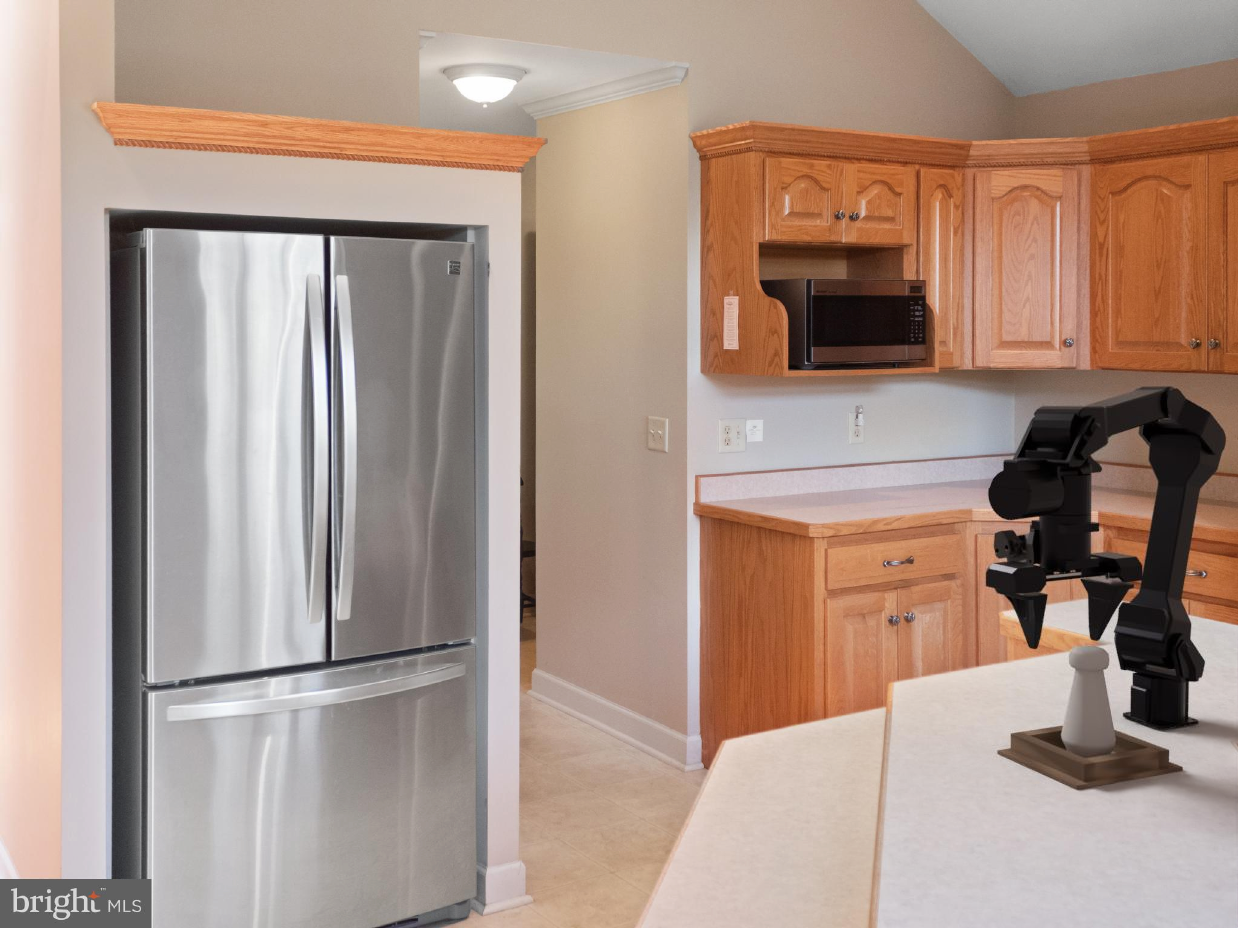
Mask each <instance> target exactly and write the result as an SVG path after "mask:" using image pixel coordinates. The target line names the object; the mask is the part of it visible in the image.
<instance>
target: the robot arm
mask: <svg viewBox="0 0 1238 928" xmlns="http://www.w3.org/2000/svg"><path fill="white" fill-rule="evenodd" d="M1135 428H1138V435H1139V437H1140V438H1141V439H1142V440H1143V441H1144V442H1145V443H1146V445H1147V446H1148V458H1147V459H1148V462H1149V465H1150V468H1151V469H1152V472H1153V474H1154V477H1155V478H1156V481H1157V485H1156V492H1155V498H1154V503H1153V509H1152V515H1151V521H1150V528H1149V531H1148V532H1149V533H1148V539H1147V545H1146V550H1145V556H1144V561H1143V564H1142V562H1141V561H1140V558H1138V557H1137V556H1136V555H1130V554H1123V553H1119V552H1113V551H1112V552H1111V551H1103V552H1092V533H1097V532H1100V522H1097V521H1096V522H1095V521H1092V490H1093V489H1092V486H1093V485H1092V478H1093V477H1092V475H1093V474H1097V473H1102V471H1103V467H1102V466H1101V464H1100V463H1099V462H1097V461H1096V460H1095V459H1094V458H1093V457H1092V455H1094V454H1095V453H1097V452H1099V451H1100V450H1101V449H1103V448H1104V447H1106V446H1107V445H1108V443H1109V440H1110V438H1111V437H1113V436H1114V435H1118V434H1120V433H1121V434H1122V433H1124V432H1126V431H1130V430H1132V429H1135ZM1226 443H1227V437H1226V432H1225V430H1224V428H1223V427H1222V426H1221V425H1220V423H1219V422H1218V420H1217V419H1216V418H1215V417H1214V416H1213V414H1212V413H1211V412H1210V411H1208V410H1207V409H1205V408H1204V407H1202V406H1200V405H1198V404H1197V403H1195V402H1193V401H1191V400H1190V399H1188V398H1186V396H1185V395H1184V393H1182V391H1181V390H1180V389H1179V388H1176V387H1174V386H1169V385H1166V386H1165V385H1164V386H1162V385H1160V386H1159V385H1157V386H1156V385H1155V386H1154V385H1153V386H1151V385H1150V386H1146V385H1145V386H1143V385H1142V386H1141V387H1139V388H1136V389H1134V390H1132V391H1130V392H1126V393H1122V394H1120V395H1117V396H1112V397H1109V398H1106V399H1103V400H1099V401H1096V402H1092V403H1089V404H1086V405H1043V406H1042V405H1041V406H1039V407H1038V408H1037V409H1036V410H1035V411H1034V413H1033V417H1032V418H1031V420H1030V422H1029V423H1028V426H1027V427H1026V431H1025V432H1024V434H1023V437H1022V438H1021V440H1020V443H1019V444H1018V447H1017V449H1016V451H1015V454H1014V455H1013V457H1012V459H1011V458H1009V459H1004V460H1003V463H1002V466H1003V469H1002V470H1001V471H1000V472H997V473H996V475H995V476H994V477H993V478H992V480H991V482H990V485H989V488H988V491H987V492H988V493H987V496H988V502H989V505H990V507H991V508H992V510H993V512H994V513H995V514H996V515H997V516H998V517H1000V518H1002V519H1003V520H1007V521H1016V520H1017V521H1018V520H1023V519H1031V518H1038V519H1033V520H1031V523H1030V524H1029V533H1026V534H1018V535H1017V533H1016V532H1015V530H1013V529H1008V530H1000V531H997V532H994V535H993V536H994V537H993V550H994V555H995V557H996V558H997V559H999V560H1000V559H1006V561H1001V562H991V563H990V564H989V566H988V567H987V568H986V569H985V587H987V588H992V589H994V591H995V593H996V594H999V595H1003V596H1004V597H1005V598H1006V599H1007V600H1008V601H1009V602H1010V605H1011V606H1012V608H1013V611H1014V612H1015V614H1016V616H1017V619H1018V621H1019V624H1020V627H1021V629H1022V632H1023V636H1024V638H1025V640H1026V644H1027V646H1028V648H1029V649H1033V650H1037V649H1038V648H1039V645H1040V640H1041V636H1042V632H1043V627H1044V626H1043V625H1044V620H1045V612H1046V608H1047V602H1048V596H1049V595H1048V593H1044V592H1042V591H1043V590H1044V589H1045V587H1046V586H1047V582H1048V583H1049V582H1050V583H1051V582H1057V581H1058V582H1059V581H1065V580H1077V579H1078V580H1080V582H1081V583H1082V585H1083V588H1084V589H1085V591H1086V594H1087V608H1088V609H1087V613H1088V617H1087V618H1088V634H1089V638H1090V640H1091V641H1094V642H1098V641H1100V639H1101V638H1102V636H1103V634H1104V632H1105V630H1106V628H1108V625H1109V623H1110V621H1111V619H1113V618H1112V617H1113V615H1114V614H1115V612H1116V611H1117V609H1118V611H1117V621H1116V625H1115V627H1114V630H1113V633H1114V637H1113V639H1114V646H1115V651H1116V655H1117V659H1118V664H1119V668H1120V670H1121V671H1129V672H1132V685H1131V686H1130V704H1129V705H1130V707H1129V708H1130V711H1126V712H1122V717H1123V718H1125V719H1128V720H1132V721H1134V722H1136V723H1140V724H1142V725H1146V726H1147V727H1151V728H1154V729H1157V730H1169V729H1174V728H1175V729H1176V728H1180V727H1181V728H1182V727H1188V726H1193V725H1198V724H1199V719H1197V718H1195V717H1192V716H1189V703H1190V702H1189V699H1190V698H1189V696H1190V694H1189V692H1190V689H1189V688H1190V682H1191V683H1195V682H1199V681H1200V679H1202V677H1203V674H1204V672H1205V670H1204V669H1205V665H1206V661H1205V659H1204V657H1203V655H1202V654H1201V653H1200V652H1199V650H1198V648H1197V647H1196V645H1195V644H1194V642H1193V641H1192V638H1191V636H1192V620H1191V619H1190V617H1189V614H1188V612H1187V610H1186V607H1185V606H1184V603H1183V601H1182V599H1183V592H1184V585H1185V581H1186V580H1185V579H1186V574H1187V569H1188V568H1187V567H1188V561H1189V557H1190V550H1191V544H1192V540H1193V532H1194V528H1195V520H1196V516H1197V515H1196V514H1197V509H1198V503H1199V499H1200V498H1199V496H1200V492H1201V489H1202V487H1203V486H1204V485H1205V484H1206V483H1207V482H1208V481H1209V480H1210V478H1212V476H1213V475H1214V474H1216V472H1217V471H1218V469H1219V466H1220V465H1219V464H1220V461H1221V457H1222V454H1223V452H1224V450H1225V448H1226V445H1227V444H1226ZM1134 582H1140V585H1139V590H1138V592H1137V594H1136V595H1135V596H1134V597H1133V598H1132V599H1131V600H1130V601H1129V602H1126V601H1123V599H1124V598H1125V597H1126V595H1127V593H1128V592H1129V591H1130V590H1131V589H1135V583H1134Z"/></svg>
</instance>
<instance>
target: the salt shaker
mask: <svg viewBox="0 0 1238 928" xmlns="http://www.w3.org/2000/svg"><path fill="white" fill-rule="evenodd" d="M1068 664H1069V665H1070V667H1071V668H1073V669H1074V673H1073V674H1074V675H1073V679H1072V683H1071V687H1070V692H1069V695H1068V696H1069V697H1068V702H1067V705H1066V712H1065V715H1064V720H1063V724H1062V725H1063V728H1062V733H1061V738H1062V741H1063V743H1064V745H1065V747H1066V750H1067V751H1069V752H1071V753H1073V754H1076V755H1078V756H1081V757H1083V758H1091V757H1097V756H1103V755H1109V754H1111V752H1112V750H1113V748H1114V746H1115V742H1116V738H1115V732H1114V730H1115V728H1114V722H1113V715H1112V711H1111V706H1110V705H1111V704H1110V701H1109V699H1110V698H1109V694H1108V688H1107V682H1106V677H1105V672H1104V671H1105V670H1107V669H1108V668H1109V666H1110V655H1109V652H1108V651H1106V649H1104V648H1103V647H1100V646H1096V645H1087V644H1085V645H1076V646H1073V647H1072V648H1071V649H1070V650H1069V653H1068Z"/></svg>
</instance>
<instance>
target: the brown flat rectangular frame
mask: <svg viewBox="0 0 1238 928" xmlns="http://www.w3.org/2000/svg"><path fill="white" fill-rule="evenodd" d="M1062 728H1063V724H1062V725H1057V726H1051V727H1044V728H1038V729H1030V730H1026V731H1025V730H1024V731H1018V732H1012V733H1010V748H1004V749H997V752H996V753H997V754H998V755H1000V756H1001V757H1004V758H1007V759H1009V760H1011V761H1013V762H1016V763H1018V764H1020V765H1022V766H1024V767H1025V768H1027V769H1031V770H1032V771H1035V772H1037V773H1040V774H1042V775H1043V776H1046V777H1048V778H1050V779H1053V780H1055V781H1057V782H1059V783H1061V784H1064V785H1066V786H1069V787H1070V788H1073V789H1074V790H1082V789H1086V788H1091V787H1097V786H1103V785H1108V784H1114V783H1120V782H1125V781H1126V782H1127V781H1132V780H1136V779H1142V778H1148V777H1153V776H1158V775H1163V774H1170V773H1176V772H1181V771H1183V770H1184V767H1183V766H1182V765H1179V764H1177V763H1174V762H1171V761H1170V749H1168V748H1165V747H1163V746H1160V745H1157V744H1155V743H1151V742H1148V741H1146V740H1143V739H1141V738H1139V737H1135V736H1133V735H1130V734H1127V733H1125V732H1121V731H1118V730H1116V729H1114V732H1115V738H1116V742H1115V746H1114V748H1113V750H1112V752H1111V754H1109V755H1103V756H1097V757H1091V758H1083V757H1081V756H1078V755H1076V754H1073V753H1071V752H1069V751H1067V750H1066V747H1065V745H1064V743H1063V741H1062V738H1061V733H1062Z"/></svg>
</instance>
